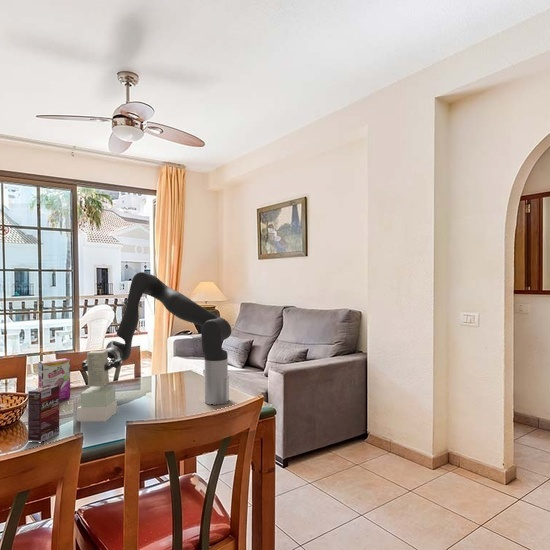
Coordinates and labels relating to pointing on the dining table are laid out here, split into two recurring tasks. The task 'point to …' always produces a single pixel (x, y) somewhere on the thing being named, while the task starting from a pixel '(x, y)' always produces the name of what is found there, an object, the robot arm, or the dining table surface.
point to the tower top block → (98, 396)
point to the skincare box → (97, 368)
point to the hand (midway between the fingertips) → (96, 368)
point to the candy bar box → (55, 375)
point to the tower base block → (96, 412)
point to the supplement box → (43, 413)
